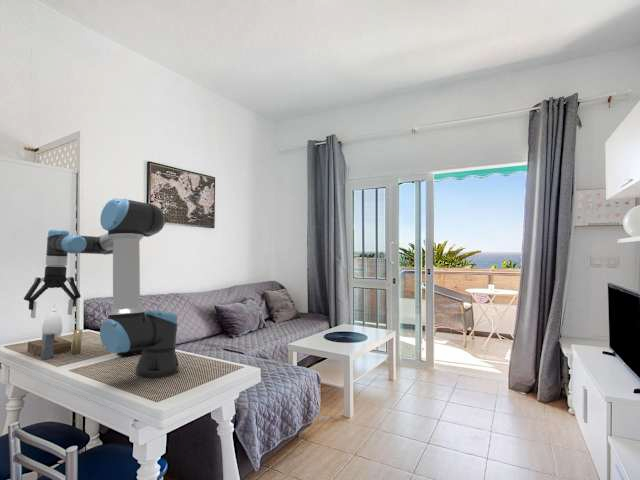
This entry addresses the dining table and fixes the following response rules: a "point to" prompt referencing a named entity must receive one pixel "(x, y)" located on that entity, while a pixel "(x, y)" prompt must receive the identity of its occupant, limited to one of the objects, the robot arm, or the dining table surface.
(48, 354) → the square bit
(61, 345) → the socket board
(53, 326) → the white air blower
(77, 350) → the round bit
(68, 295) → the robot arm
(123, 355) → the end cap
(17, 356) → the dining table surface
